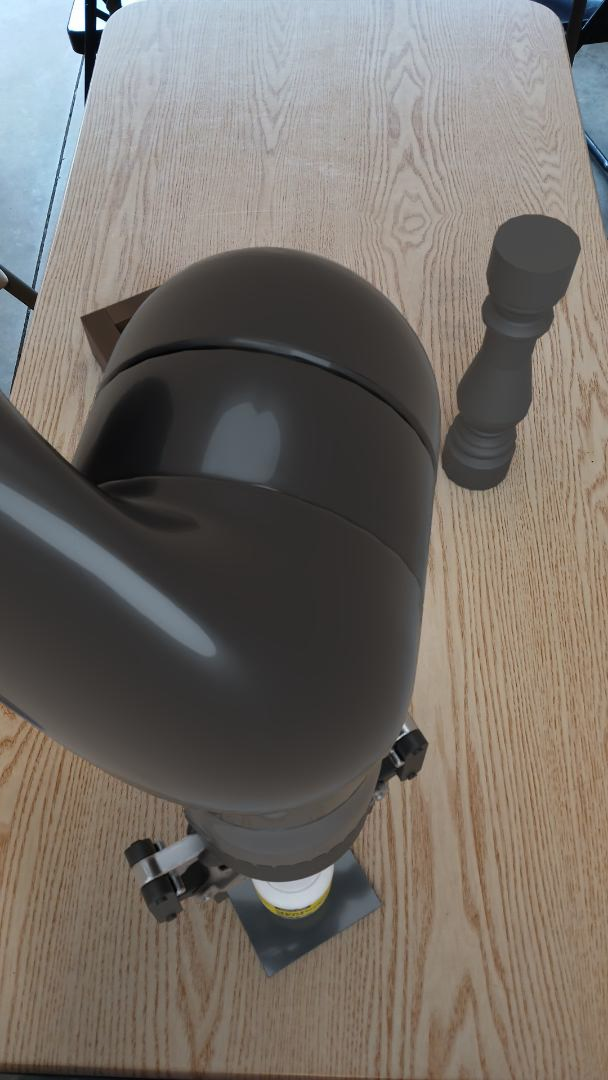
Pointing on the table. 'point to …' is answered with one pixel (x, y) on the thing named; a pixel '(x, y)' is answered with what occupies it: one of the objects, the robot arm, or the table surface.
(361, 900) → the coaster
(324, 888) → the supplement bottle
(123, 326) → the stand
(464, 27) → the table surface
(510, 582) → the table surface
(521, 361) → the candle holder
